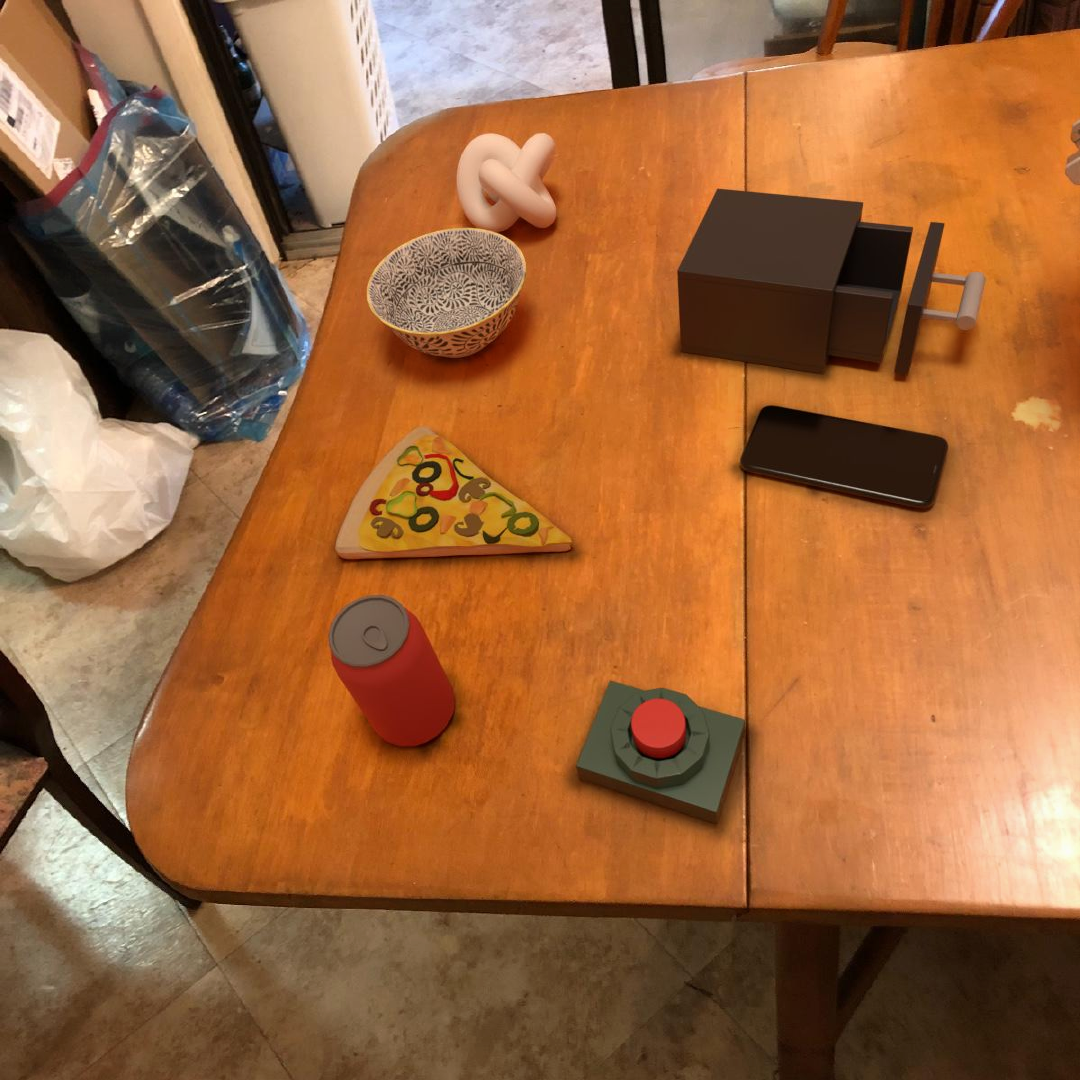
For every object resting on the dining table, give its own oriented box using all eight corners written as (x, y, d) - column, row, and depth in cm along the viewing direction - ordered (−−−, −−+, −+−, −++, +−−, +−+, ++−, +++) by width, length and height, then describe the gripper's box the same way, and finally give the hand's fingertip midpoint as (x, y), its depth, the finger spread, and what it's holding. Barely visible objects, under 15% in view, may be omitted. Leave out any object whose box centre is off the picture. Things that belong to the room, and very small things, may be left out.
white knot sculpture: (455, 252, 106) (436, 181, 99) (474, 189, 113) (458, 119, 106) (553, 248, 104) (540, 175, 97) (566, 184, 111) (556, 112, 104)
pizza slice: (412, 431, 90) (404, 409, 88) (609, 484, 82) (606, 461, 80) (324, 555, 83) (313, 535, 80) (532, 626, 75) (526, 605, 72)
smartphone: (736, 472, 81) (931, 514, 75) (736, 465, 80) (933, 507, 74) (762, 408, 85) (949, 443, 79) (762, 401, 84) (951, 436, 78)
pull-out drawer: (979, 299, 88) (998, 228, 81) (960, 383, 82) (980, 313, 76) (797, 277, 93) (802, 208, 87) (767, 353, 88) (771, 286, 82)
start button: (693, 718, 64) (692, 707, 63) (676, 765, 62) (675, 754, 61) (642, 703, 65) (641, 692, 64) (625, 749, 64) (623, 738, 62)
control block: (744, 733, 67) (746, 707, 64) (716, 824, 63) (716, 802, 60) (612, 694, 70) (607, 667, 67) (579, 778, 67) (572, 755, 63)
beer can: (403, 767, 69) (353, 691, 60) (357, 708, 73) (302, 628, 63) (473, 711, 71) (435, 629, 62) (425, 656, 75) (381, 571, 65)
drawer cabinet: (852, 287, 93) (863, 202, 85) (823, 374, 86) (832, 290, 79) (717, 270, 97) (717, 188, 90) (680, 351, 91) (676, 270, 83)
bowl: (569, 316, 97) (559, 255, 91) (467, 412, 91) (449, 353, 85) (457, 269, 104) (441, 210, 98) (356, 355, 98) (333, 298, 92)
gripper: (1266, -90, 62) (1061, 52, 73) (1272, 70, 52) (1032, 207, 63) (1313, -18, 64) (1106, 110, 75) (1327, 151, 54) (1086, 270, 65)
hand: (1072, 156), depth 69 cm, fingers open, 3 cm apart
